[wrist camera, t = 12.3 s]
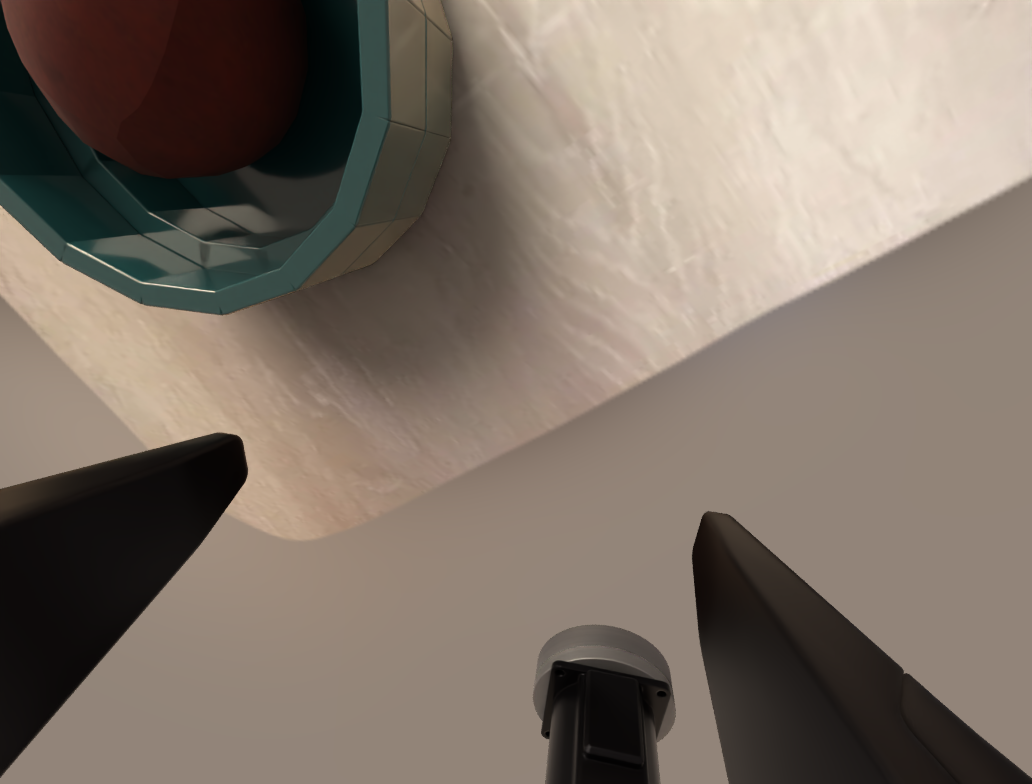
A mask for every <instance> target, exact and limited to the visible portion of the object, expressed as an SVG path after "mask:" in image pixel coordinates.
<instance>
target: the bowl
mask: <svg viewBox="0 0 1032 784" xmlns="http://www.w3.org/2000/svg"><path fill="white" fill-rule="evenodd" d="M301 3H302V5H303V8H304V11H305V14H306V25H307V52H308V71H307V75H306V80H305V84H304V88H303V92H302V97H301V101H300V105H299V110H298V114H297V116H296V118H295V120H294V121H293V123H292V124H291V126H290V128H289V129H288V131H287V132H286V134H285V136H284V137H283V139H282V140H281V142H280V144H278V145H277V146H276V147H274V148H273V149H272V150H271V151H269V152H268V153H267V154H265V155H264V156H263V157H262V158H260V159H259V160H257V161H256V162H254V163H252V164H250V165H248V166H246V167H244V168H241V169H238V170H234V171H231V172H228V173H225V174H222V175H219V176H206V177H191V178H173V179H166V178H160V177H154V176H148V175H142V174H140V173H138V172H136V171H134V170H132V169H130V168H128V167H126V166H125V165H123V164H121V163H119V162H117V161H115V160H113V159H111V158H110V157H108V156H106V155H104V154H103V153H101V152H99V151H97V150H95V149H94V148H92V147H90V146H88V145H87V144H85V143H83V142H82V140H81V139H80V138H79V137H78V136H77V135H76V134H75V133H74V132H73V131H72V130H71V129H70V128H69V127H68V126H67V124H66V123H65V122H64V121H63V120H62V119H61V118H60V117H59V116H58V114H57V113H56V112H55V110H54V109H53V107H52V106H51V104H50V103H49V101H48V100H47V99H46V97H45V96H44V94H43V93H42V91H41V90H40V88H39V87H38V86H37V84H36V83H35V81H34V80H33V78H32V77H31V75H30V74H29V72H28V71H27V69H26V68H25V66H24V65H23V63H22V61H21V59H20V57H19V54H18V52H17V50H16V47H15V45H14V43H13V40H12V38H11V36H10V33H9V31H8V29H7V25H6V21H5V16H4V12H3V8H2V4H1V0H0V205H1V206H2V207H3V208H4V209H5V210H6V211H7V212H8V213H9V214H10V215H11V216H13V217H14V218H15V219H16V220H17V221H18V222H19V223H20V224H21V225H22V226H23V227H24V228H25V229H26V230H27V231H28V232H29V233H30V234H32V235H33V236H34V237H35V238H36V239H37V240H38V241H39V242H40V243H41V244H42V245H43V246H44V247H45V248H46V249H47V250H48V251H49V252H51V253H52V254H53V255H54V256H55V257H56V258H57V259H58V260H59V261H61V262H63V263H64V264H66V265H68V266H69V267H71V268H73V269H75V270H77V271H79V272H81V273H83V274H85V275H87V276H88V277H90V278H92V279H94V280H96V281H98V282H100V283H102V284H104V285H106V286H107V287H109V288H111V289H113V290H115V291H117V292H119V293H121V294H123V295H125V296H126V297H128V298H130V299H132V300H134V301H136V302H138V303H140V304H144V305H146V306H153V307H161V308H169V309H176V310H184V311H192V312H199V313H207V314H215V315H228V314H231V313H234V312H237V311H240V310H243V309H246V308H249V307H252V306H255V305H258V304H261V303H264V302H267V301H270V300H273V299H276V298H278V297H281V296H284V295H287V294H290V293H293V292H296V291H299V290H302V289H305V288H307V287H310V286H313V285H316V284H318V283H321V282H324V281H327V280H330V279H332V278H335V277H338V276H341V275H344V274H346V273H349V272H352V271H355V270H357V269H360V268H363V267H366V266H369V265H371V264H373V263H375V262H376V261H377V260H378V259H379V258H380V257H381V256H382V255H383V254H384V253H385V252H386V251H387V250H388V249H389V248H390V247H391V246H392V245H393V244H394V242H395V241H396V240H397V239H398V238H399V237H400V236H401V235H402V234H403V233H404V232H405V231H406V230H407V229H408V228H409V227H410V226H411V225H412V224H413V223H414V222H415V221H416V220H417V219H418V218H419V217H420V216H421V214H422V213H423V211H424V208H425V206H426V203H427V200H428V198H429V195H430V193H431V190H432V187H433V185H434V182H435V180H436V177H437V174H438V172H439V169H440V167H441V164H442V161H443V159H444V156H445V154H446V151H447V149H448V146H449V143H450V141H451V139H450V137H451V109H452V55H453V43H452V40H453V39H452V36H451V32H450V29H449V26H448V23H447V19H446V16H445V13H444V9H443V6H442V3H441V0H301Z"/></svg>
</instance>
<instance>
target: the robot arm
mask: <svg viewBox="0 0 1032 784" xmlns="http://www.w3.org/2000/svg"><path fill="white" fill-rule="evenodd" d="M247 475H248V467H247V462H246V456H245V451H244V445H243V441H242V439H241V438H240V437H239V436H237V435H233V434H227V433H213V434H210V435H206V436H202V437H198V438H194V439H190V440H187V441H183V442H179V443H175V444H171V445H167V446H164V447H160V448H156V449H152V450H148V451H145V452H141V453H137V454H133V455H129V456H125V457H122V458H118V459H114V460H110V461H107V462H102V463H98V464H95V465H91V466H87V467H83V468H79V469H76V470H72V471H68V472H64V473H60V474H56V475H52V476H48V477H45V478H41V479H37V480H33V481H30V482H26V483H22V484H18V485H14V486H10V487H7V488H2V489H0V777H1V776H2V775H3V774H4V773H5V772H6V770H7V769H8V768H9V767H10V765H12V763H13V762H14V761H15V760H16V759H17V758H18V756H19V755H20V754H21V753H22V752H23V751H24V750H25V748H26V747H27V746H28V745H29V744H30V742H31V741H32V740H33V739H34V738H35V737H36V736H37V734H38V733H39V732H40V731H41V730H42V729H43V727H44V726H45V725H46V724H47V723H48V722H49V720H50V719H51V718H52V717H53V716H54V715H55V713H56V712H57V711H58V710H59V709H60V708H61V707H62V705H63V704H64V703H65V702H66V701H67V699H68V698H69V697H70V696H71V695H72V694H73V693H74V691H75V690H76V689H77V688H78V687H79V685H80V684H81V683H82V682H83V681H84V680H85V679H86V677H87V676H88V675H89V674H90V672H91V671H92V670H93V669H94V668H95V667H96V666H97V665H98V663H99V662H100V661H101V660H102V659H103V658H104V656H105V655H106V654H107V653H108V652H109V651H110V650H111V648H112V647H113V646H114V645H115V644H116V643H117V641H118V640H119V639H120V638H121V637H122V636H123V634H124V633H125V632H126V631H127V630H128V629H129V627H130V626H131V625H132V624H133V623H134V622H135V620H136V619H137V618H138V617H139V616H140V615H141V614H142V612H143V611H144V610H145V609H146V607H148V605H149V604H150V603H151V602H152V601H153V600H154V598H155V597H156V596H157V595H158V594H159V592H160V591H161V590H162V589H163V588H164V587H165V586H166V584H167V583H168V582H169V581H170V580H171V578H172V577H173V576H174V575H175V574H176V573H177V572H178V571H179V569H180V568H181V567H182V566H183V564H185V562H186V561H187V560H188V559H189V558H190V557H191V555H192V554H193V553H194V552H195V550H196V549H197V548H198V547H199V546H200V544H201V543H202V542H203V540H204V539H205V538H206V536H207V535H208V534H209V532H210V531H211V529H212V528H213V527H214V525H215V524H216V522H217V521H218V520H219V518H220V517H221V515H222V514H223V513H224V511H225V510H226V508H227V507H228V505H229V504H230V503H231V501H232V500H233V498H234V497H235V496H236V494H237V493H238V491H239V490H240V489H241V487H242V486H243V484H244V483H245V481H246V479H247ZM692 562H693V563H692V564H693V575H694V586H695V597H696V609H697V619H698V630H699V639H700V646H701V651H702V656H703V661H704V666H705V671H706V676H707V680H708V685H709V690H710V694H711V700H712V705H713V709H714V714H715V719H716V724H717V729H718V733H719V738H720V742H721V747H722V753H723V757H724V762H725V767H726V772H727V777H728V781H729V784H1032V778H1031V777H1030V776H1028V775H1027V774H1026V773H1025V772H1023V771H1022V770H1021V769H1020V768H1019V767H1017V766H1016V765H1015V764H1014V763H1012V762H1011V761H1010V760H1009V759H1008V758H1006V757H1005V756H1004V755H1003V754H1001V753H1000V752H999V751H998V750H997V749H995V748H994V747H993V746H992V745H990V744H989V743H988V742H987V741H986V740H984V739H983V738H982V737H980V736H979V735H978V734H977V733H976V732H975V731H974V730H973V729H971V728H970V727H969V726H968V725H967V724H966V723H964V722H963V721H962V720H961V719H960V718H959V717H957V716H956V715H955V714H954V713H953V712H952V711H950V710H949V709H948V708H947V707H946V706H945V705H943V704H942V703H941V702H940V701H939V700H938V699H937V698H935V697H934V696H933V695H932V694H931V693H930V692H929V691H928V690H926V689H925V688H924V687H923V686H922V685H921V684H920V683H919V682H917V681H916V680H915V679H914V678H913V677H912V676H911V675H909V674H907V673H906V674H904V671H903V669H902V668H901V667H900V666H899V665H898V664H897V663H896V662H894V660H892V659H891V658H890V657H889V656H888V655H887V654H886V653H885V652H883V651H882V650H881V649H880V648H879V647H878V646H877V645H875V644H874V643H873V642H872V641H871V640H870V639H869V638H868V637H867V636H865V635H864V634H863V633H862V632H861V631H860V630H859V629H858V628H857V627H855V626H854V625H853V624H852V623H851V622H850V621H849V620H848V619H846V618H845V617H844V616H843V615H842V614H841V613H840V612H838V611H837V610H836V609H835V608H834V607H833V606H832V605H831V604H829V603H828V602H827V601H826V600H825V599H824V598H823V597H822V596H820V595H819V594H818V593H817V592H816V591H815V590H814V589H813V588H811V587H810V586H809V585H808V584H807V583H806V582H805V581H804V580H803V579H801V578H800V577H799V576H798V575H797V574H796V573H795V572H794V571H792V570H791V569H790V568H789V567H788V566H787V565H786V564H785V563H783V562H782V561H781V560H780V559H779V558H778V557H777V556H776V555H774V554H773V553H772V552H771V551H770V550H769V549H767V547H765V546H764V545H763V544H762V543H761V542H760V541H759V540H758V539H756V538H755V537H754V536H753V535H752V534H751V533H750V532H749V531H747V530H746V529H745V528H744V527H743V526H742V525H741V524H739V523H738V522H737V521H736V520H735V519H734V518H733V517H731V516H730V515H728V514H722V513H716V512H709V511H708V512H706V513H705V514H704V515H703V516H702V519H701V523H700V526H699V529H698V533H697V536H696V539H695V543H694V546H693V552H692ZM670 697H671V690H670V686H669V684H668V683H666V682H664V681H660V680H655V679H650V678H646V677H641V676H636V675H631V674H626V673H621V672H616V671H611V670H606V669H601V668H596V667H592V666H587V665H582V664H577V663H572V662H567V661H562V660H557V661H554V662H553V663H552V666H551V672H550V678H549V684H548V691H547V697H546V703H545V709H544V716H543V722H542V729H541V734H542V736H543V737H545V738H546V739H549V749H548V760H547V770H546V780H545V784H660V774H659V764H658V753H657V743H656V740H657V737H658V734H659V731H660V728H661V725H662V722H663V719H664V716H665V713H666V710H667V707H668V704H669V701H670Z"/></svg>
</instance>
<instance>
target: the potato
mask: <svg viewBox="0 0 1032 784" xmlns="http://www.w3.org/2000/svg"><path fill="white" fill-rule="evenodd" d="M1 4H2V8H3V12H4V16H5V21H6V25H7V29H8V31H9V33H10V36H11V38H12V40H13V43H14V45H15V47H16V50H17V52H18V54H19V57H20V59H21V61H22V63H23V65H24V66H25V68H26V69H27V71H28V72H29V74H30V75H31V77H32V78H33V80H34V81H35V83H36V84H37V86H38V87H39V88H40V90H41V91H42V93H43V94H44V96H45V97H46V99H47V100H48V101H49V103H50V104H51V106H52V107H53V109H54V110H55V112H56V113H57V114H58V116H59V117H60V118H61V119H62V120H63V121H64V122H65V123H66V124H67V126H68V127H69V128H70V129H71V130H72V131H73V132H74V133H75V134H76V135H77V136H78V137H79V138H80V139H81V140H82V142H83V143H85V144H87V145H88V146H90V147H92V148H94V149H95V150H97V151H99V152H101V153H103V154H104V155H106V156H108V157H110V158H111V159H113V160H115V161H117V162H119V163H121V164H123V165H125V166H126V167H128V168H130V169H132V170H134V171H136V172H138V173H140V174H142V175H148V176H154V177H160V178H166V179H173V178H191V177H206V176H219V175H222V174H225V173H228V172H231V171H234V170H238V169H241V168H244V167H246V166H248V165H250V164H252V163H254V162H256V161H257V160H259V159H260V158H262V157H263V156H264V155H265V154H267V153H268V152H269V151H271V150H272V149H273V148H274V147H276V146H277V145H278V144H280V142H281V140H282V139H283V137H284V136H285V134H286V132H287V131H288V129H289V128H290V126H291V124H292V123H293V121H294V120H295V118H296V116H297V114H298V110H299V105H300V101H301V97H302V92H303V88H304V84H305V80H306V75H307V71H308V52H307V25H306V14H305V11H304V8H303V5H302V3H301V0H1Z"/></svg>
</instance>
